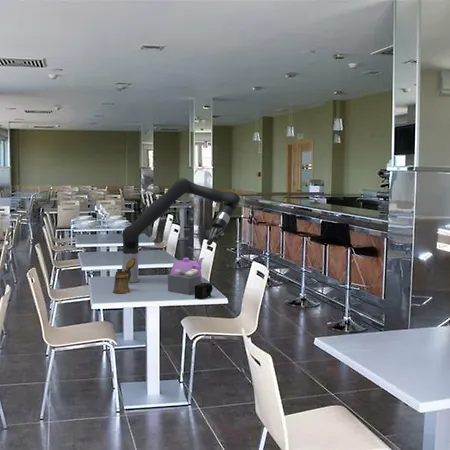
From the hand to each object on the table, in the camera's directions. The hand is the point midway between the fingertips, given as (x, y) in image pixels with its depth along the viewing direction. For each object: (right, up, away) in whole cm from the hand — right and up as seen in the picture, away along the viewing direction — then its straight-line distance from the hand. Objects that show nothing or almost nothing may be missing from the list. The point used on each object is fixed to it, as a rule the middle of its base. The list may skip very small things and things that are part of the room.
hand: (208, 244), depth 334 cm
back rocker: (-15, -16, -6) cm, 23 cm away
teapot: (-14, -24, +16) cm, 32 cm away
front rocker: (-9, -16, -10) cm, 21 cm away
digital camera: (-2, -28, -22) cm, 36 cm away
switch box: (-13, -26, -9) cm, 30 cm away
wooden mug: (-46, -26, -11) cm, 54 cm away
